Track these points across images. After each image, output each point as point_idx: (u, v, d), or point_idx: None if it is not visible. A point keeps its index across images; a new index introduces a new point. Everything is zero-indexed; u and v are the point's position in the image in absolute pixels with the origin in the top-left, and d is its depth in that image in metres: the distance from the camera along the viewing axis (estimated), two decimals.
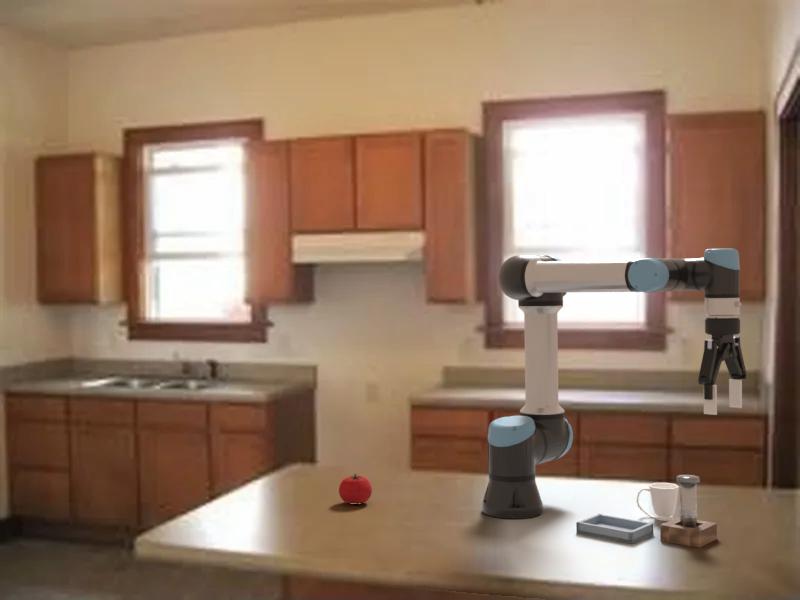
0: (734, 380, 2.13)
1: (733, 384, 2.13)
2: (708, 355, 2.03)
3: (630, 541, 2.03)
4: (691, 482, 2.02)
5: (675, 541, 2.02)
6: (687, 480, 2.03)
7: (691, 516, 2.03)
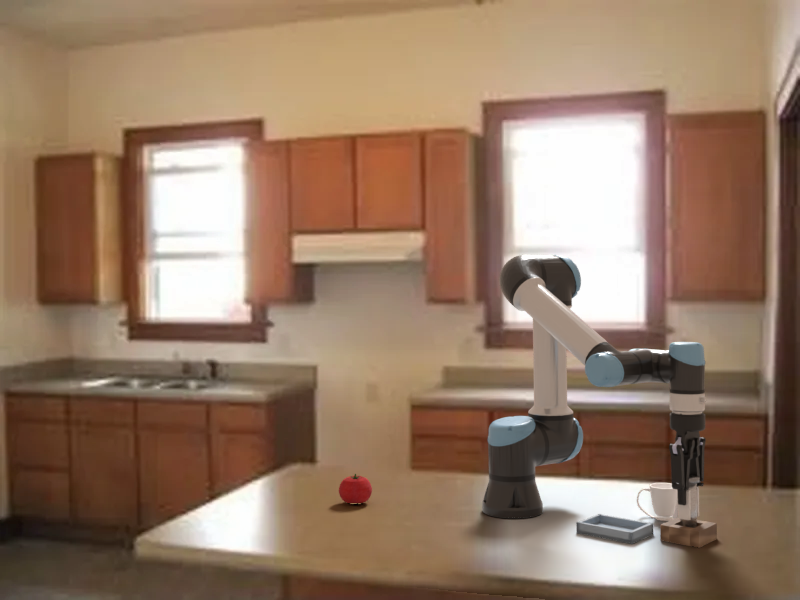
0: None
1: None
2: (676, 461, 2.01)
3: (630, 541, 2.03)
4: (691, 482, 2.02)
5: (675, 541, 2.02)
6: None
7: (691, 516, 2.03)
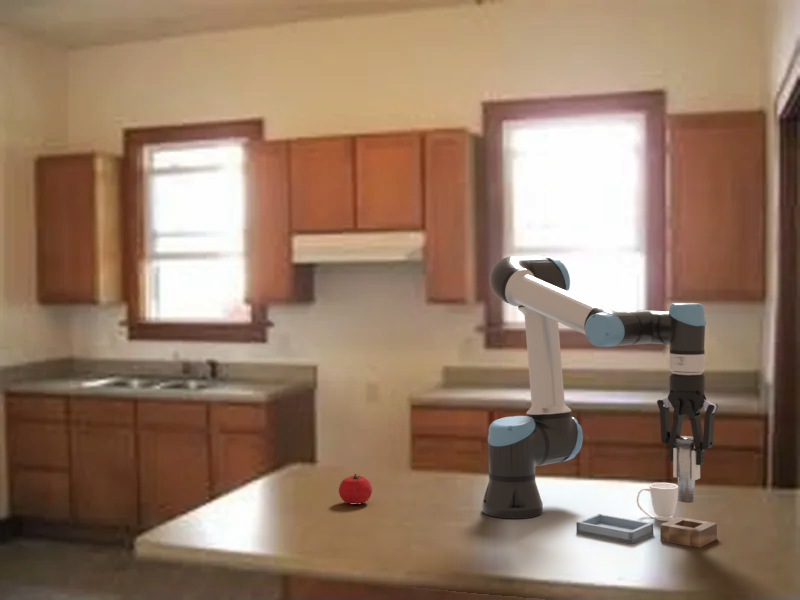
0: None
1: None
2: None
3: (630, 541, 2.03)
4: (676, 441, 2.05)
5: (675, 541, 2.02)
6: (675, 438, 2.05)
7: (678, 476, 2.05)
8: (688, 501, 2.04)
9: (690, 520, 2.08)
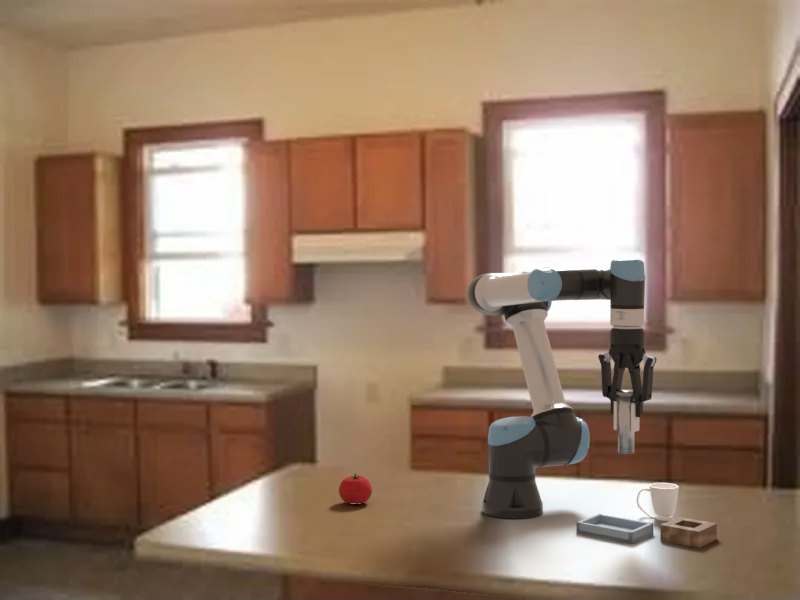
0: None
1: None
2: None
3: (630, 541, 2.03)
4: (616, 394, 2.09)
5: (675, 541, 2.02)
6: None
7: (619, 428, 2.09)
8: (628, 452, 2.08)
9: (690, 520, 2.08)
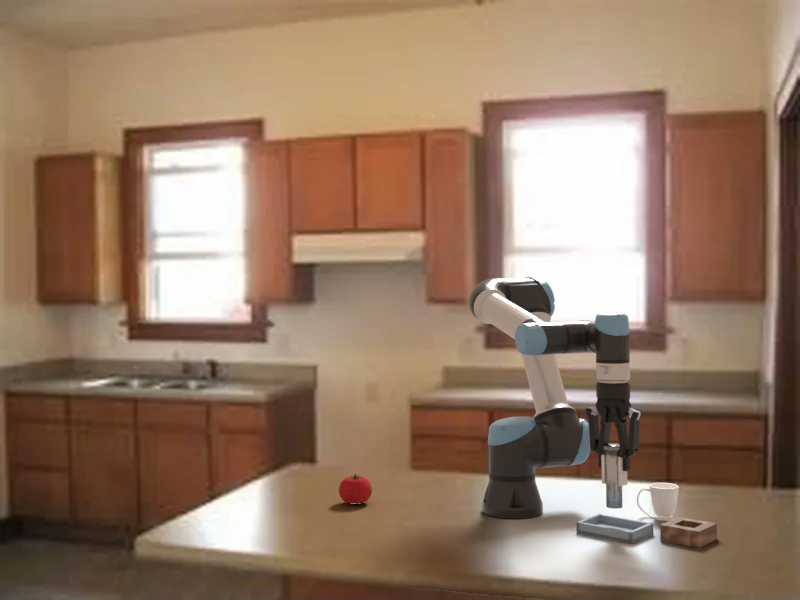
0: None
1: None
2: None
3: (630, 541, 2.03)
4: (603, 448, 2.10)
5: (675, 541, 2.02)
6: None
7: (606, 482, 2.10)
8: (615, 507, 2.09)
9: (690, 520, 2.08)
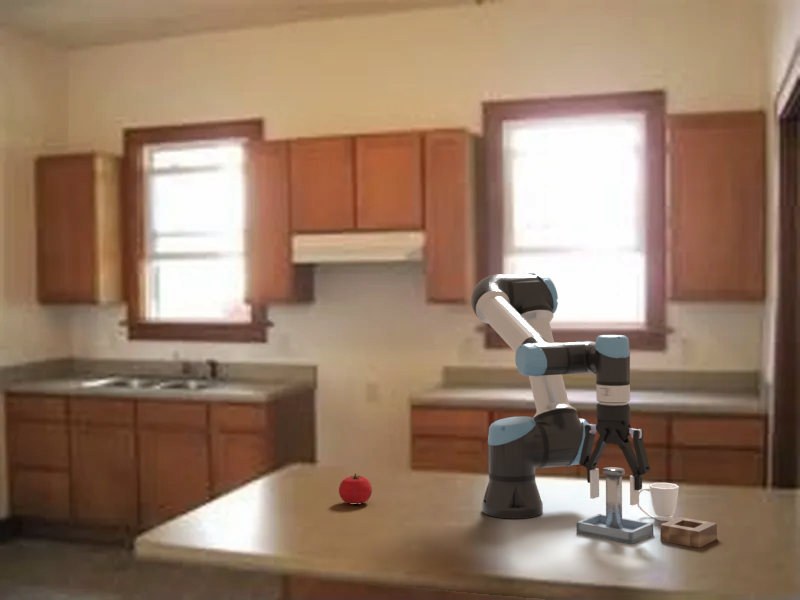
0: None
1: None
2: None
3: (630, 541, 2.03)
4: (603, 472, 2.10)
5: (675, 541, 2.02)
6: (603, 470, 2.11)
7: (606, 506, 2.10)
8: None
9: (690, 520, 2.08)
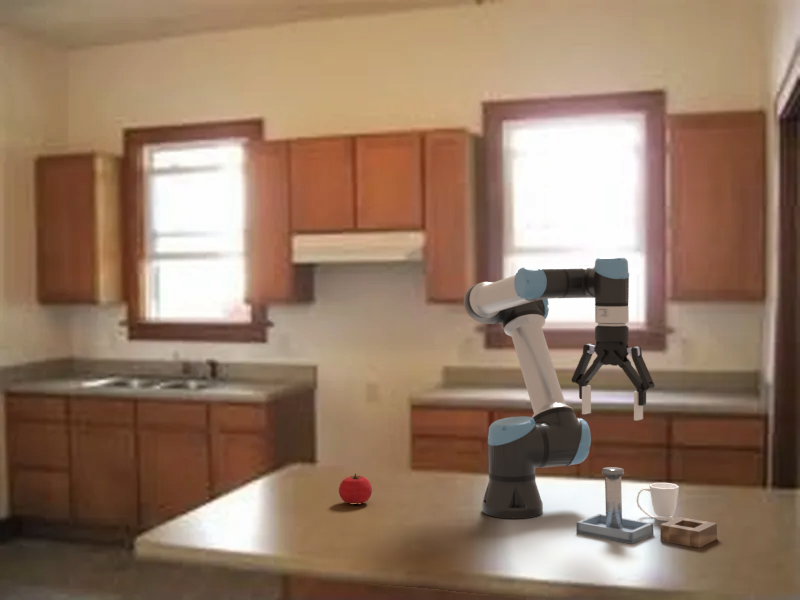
0: None
1: None
2: None
3: (630, 541, 2.03)
4: (602, 472, 2.10)
5: (675, 541, 2.02)
6: (602, 470, 2.11)
7: (606, 506, 2.10)
8: None
9: (690, 520, 2.08)
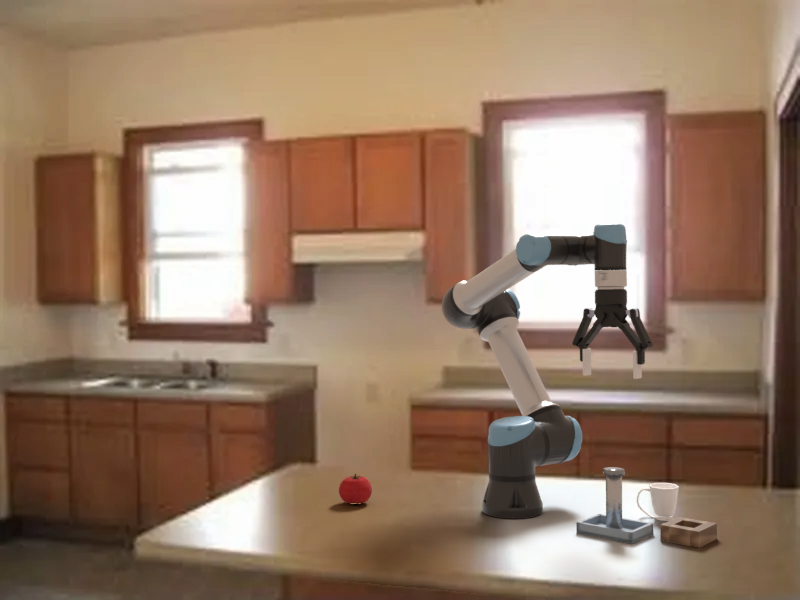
0: None
1: None
2: None
3: (630, 541, 2.03)
4: (603, 472, 2.10)
5: (675, 541, 2.02)
6: (603, 470, 2.11)
7: (606, 506, 2.10)
8: None
9: (690, 520, 2.08)
